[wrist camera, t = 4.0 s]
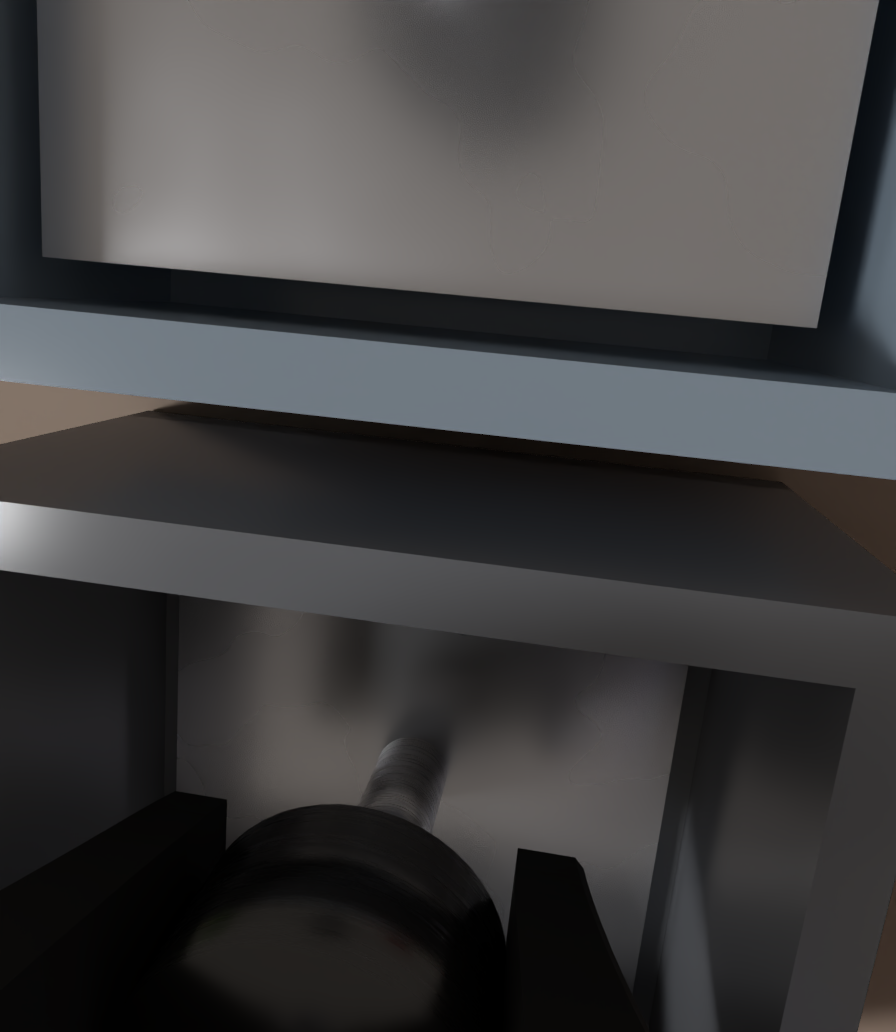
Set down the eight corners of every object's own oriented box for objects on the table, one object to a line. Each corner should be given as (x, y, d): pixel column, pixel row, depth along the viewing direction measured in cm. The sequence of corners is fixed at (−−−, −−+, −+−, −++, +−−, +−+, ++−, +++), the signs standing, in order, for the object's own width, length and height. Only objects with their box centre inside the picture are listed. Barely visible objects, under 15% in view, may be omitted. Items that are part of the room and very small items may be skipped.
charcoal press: (782, 481, 12) (958, 624, 6) (678, 1033, 14) (744, 1485, 8) (72, 401, 13) (-287, 463, 7) (80, 920, 15) (-194, 1254, 10)
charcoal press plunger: (700, 557, 11) (828, 803, 6) (626, 999, 13) (667, 1536, 7) (192, 493, 12) (-144, 652, 6) (184, 918, 14) (-89, 1342, 8)
